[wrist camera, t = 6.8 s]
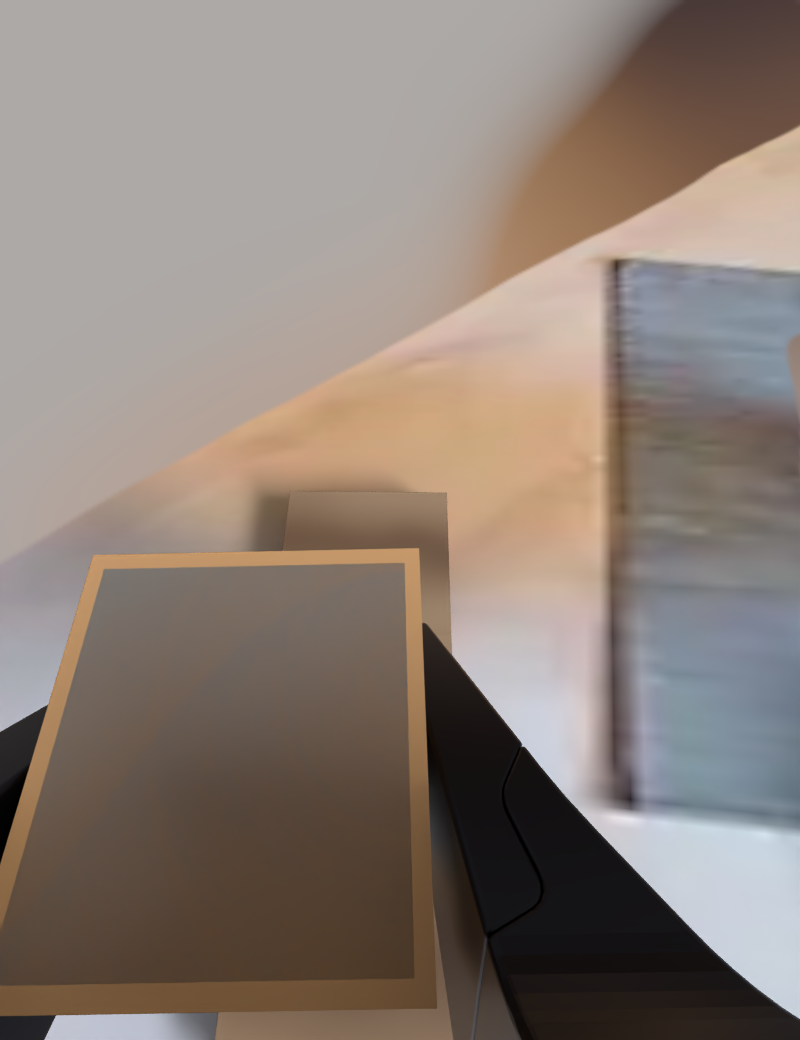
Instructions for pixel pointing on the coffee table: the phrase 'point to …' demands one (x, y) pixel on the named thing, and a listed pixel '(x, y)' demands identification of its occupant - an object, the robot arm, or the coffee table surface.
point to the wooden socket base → (424, 525)
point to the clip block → (228, 793)
